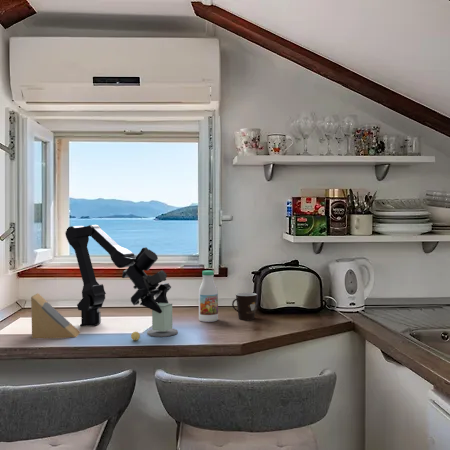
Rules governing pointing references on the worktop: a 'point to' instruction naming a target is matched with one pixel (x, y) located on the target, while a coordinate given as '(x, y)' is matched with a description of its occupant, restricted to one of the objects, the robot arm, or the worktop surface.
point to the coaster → (162, 333)
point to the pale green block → (162, 317)
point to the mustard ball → (135, 336)
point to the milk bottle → (208, 298)
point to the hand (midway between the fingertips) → (165, 311)
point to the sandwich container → (49, 321)
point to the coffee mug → (245, 305)
